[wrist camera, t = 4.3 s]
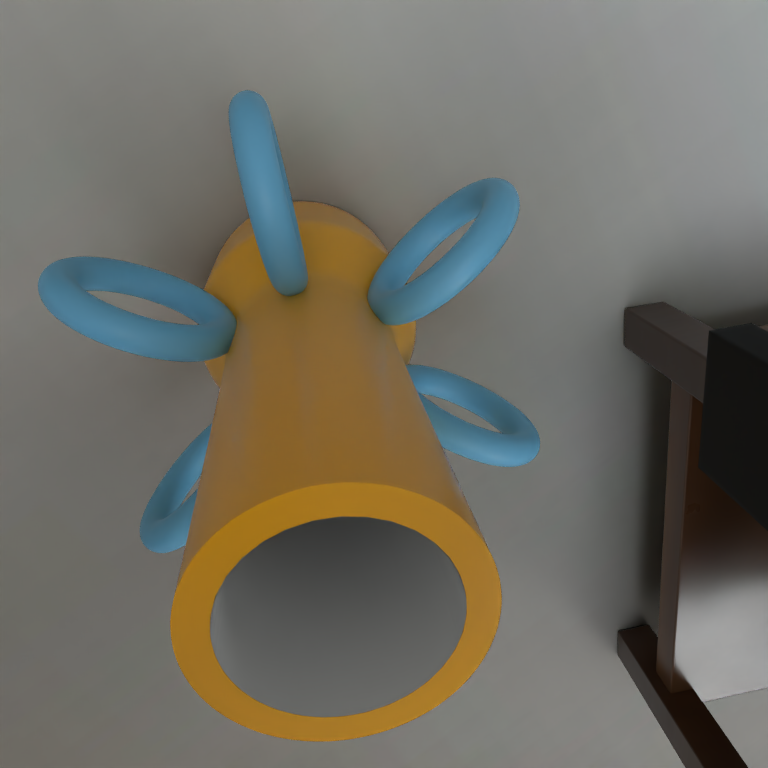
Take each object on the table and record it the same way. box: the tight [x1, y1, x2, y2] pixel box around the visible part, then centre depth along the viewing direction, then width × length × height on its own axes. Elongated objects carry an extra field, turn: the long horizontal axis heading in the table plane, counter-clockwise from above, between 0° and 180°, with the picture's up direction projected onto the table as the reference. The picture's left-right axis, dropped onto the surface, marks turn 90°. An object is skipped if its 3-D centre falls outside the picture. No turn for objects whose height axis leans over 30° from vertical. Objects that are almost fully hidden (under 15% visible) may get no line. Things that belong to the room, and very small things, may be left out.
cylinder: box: [38, 90, 540, 741], centre depth 15 cm, size 12×10×15 cm
